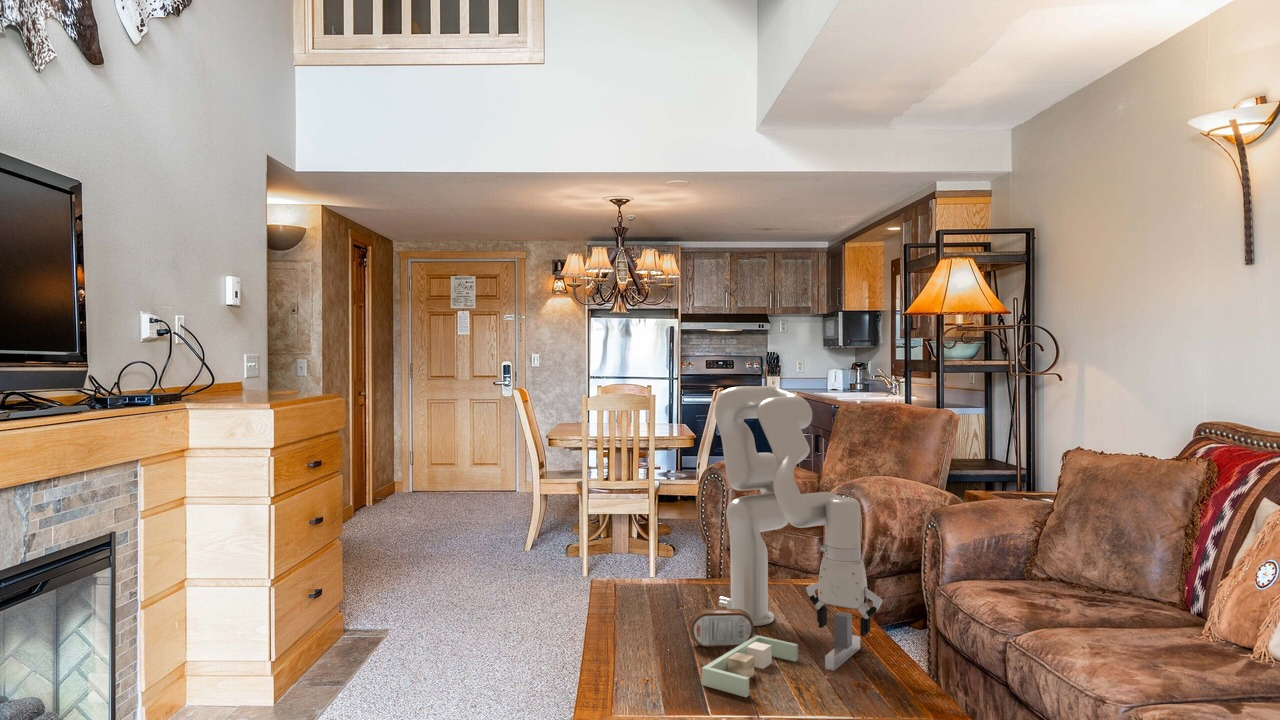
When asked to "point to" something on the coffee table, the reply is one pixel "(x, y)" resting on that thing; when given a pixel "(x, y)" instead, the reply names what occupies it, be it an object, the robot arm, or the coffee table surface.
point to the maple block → (741, 664)
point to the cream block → (760, 654)
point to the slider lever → (842, 641)
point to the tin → (721, 627)
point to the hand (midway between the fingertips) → (843, 630)
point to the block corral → (737, 684)
